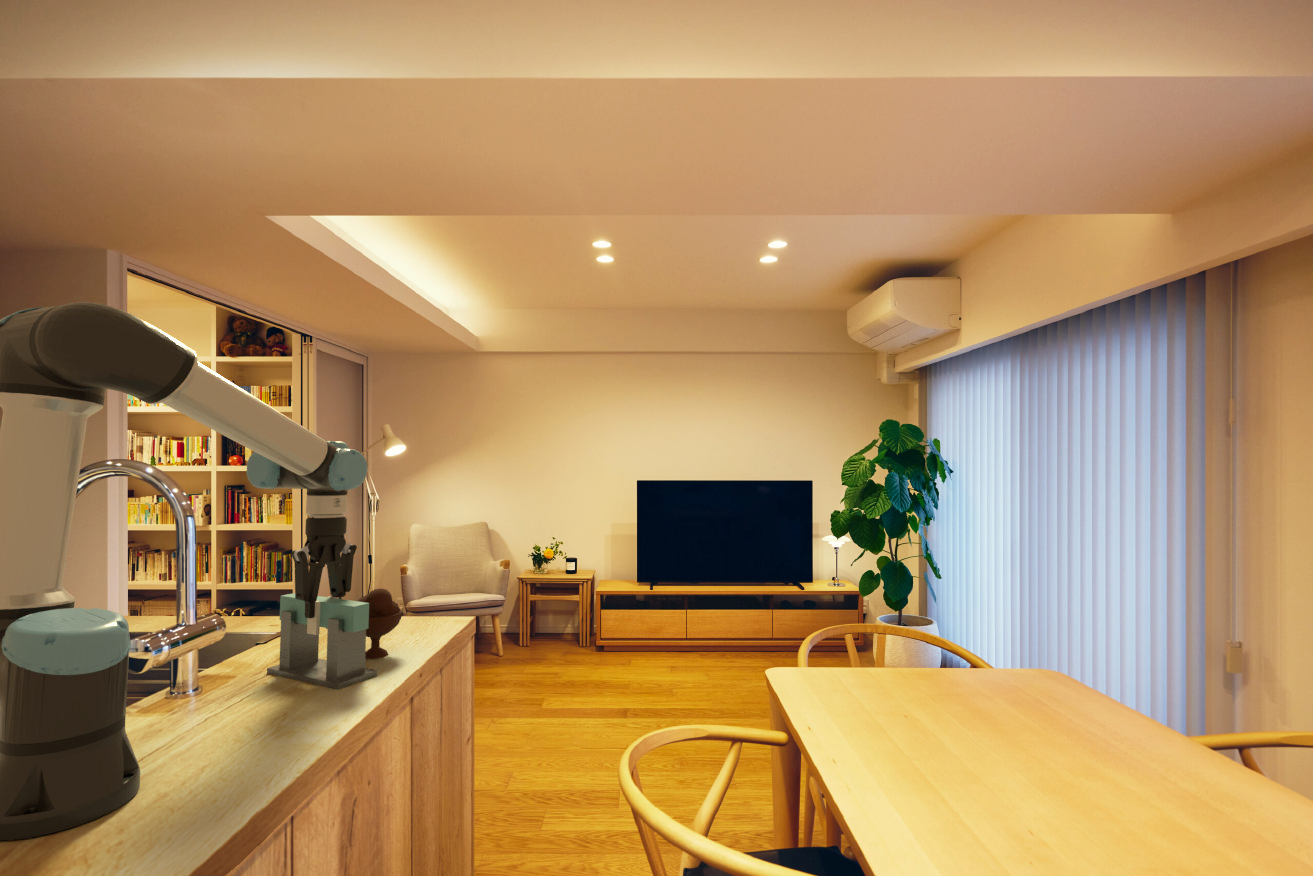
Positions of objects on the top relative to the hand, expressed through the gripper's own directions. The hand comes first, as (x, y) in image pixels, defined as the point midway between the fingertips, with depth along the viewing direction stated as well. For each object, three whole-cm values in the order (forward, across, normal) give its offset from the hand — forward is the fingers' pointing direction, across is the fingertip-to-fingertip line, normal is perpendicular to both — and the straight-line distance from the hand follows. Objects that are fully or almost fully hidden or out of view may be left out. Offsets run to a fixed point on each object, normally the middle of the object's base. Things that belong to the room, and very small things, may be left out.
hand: (322, 631), depth 130 cm
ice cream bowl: (+9, +14, +1) cm, 17 cm away
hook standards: (+9, 0, 0) cm, 9 cm away
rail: (-1, 0, 0) cm, 1 cm away
